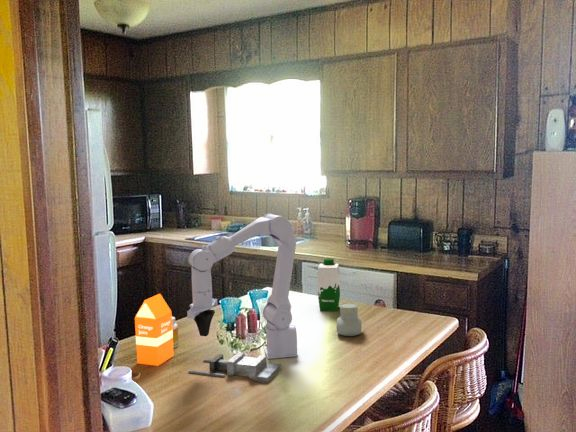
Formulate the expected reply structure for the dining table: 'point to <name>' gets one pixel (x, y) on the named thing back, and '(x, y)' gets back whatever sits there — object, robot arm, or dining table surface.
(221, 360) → the free jaw
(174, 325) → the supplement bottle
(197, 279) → the robot arm
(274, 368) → the vise base
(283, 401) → the dining table surface
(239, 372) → the steel block
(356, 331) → the air freshener
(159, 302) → the orange juice
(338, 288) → the milk carton
